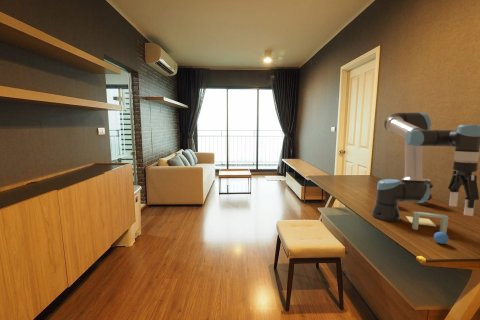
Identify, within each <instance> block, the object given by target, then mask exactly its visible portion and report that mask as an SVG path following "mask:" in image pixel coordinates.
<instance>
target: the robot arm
mask: <svg viewBox="0 0 480 320" xmlns="http://www.w3.org/2000/svg"><path fill="white" fill-rule="evenodd" d="M431 121H432V120H431V117H430V116H429V115H428V113H426V112H396V113H391V114H390V115H388V116H387V117H386V118H385V120H384V122H383V126H384V128H385V130H386V131H388V132H390V133H391V134H392V133H394V134H397V135H398V136H400V137H402V138H404V141H405V142H404V176H403V178H401V180H400V179H395V178H385V179H380V180H379V181H377V186H376V196H375V204H374V206H373V208H372V210H371V216H372V217H373V218H375V219H379V220H381V221H386V222H398V221H400V220H401V214H400V211H399V202H403V203H413V202H414V203H413V204H415V203H423V202H428V200H427V199H428V198H429V196H430V194H431V190H430V188H429V185H428V184H426V183H425V180H424V179H425V178H423V147H451V148H454V153H453V155H454V156H453V160H454V161H453V166H452V170H453V172H452V177H451V178H450V182H449V184H448V187H447V189H448V190H449V192H450V193H449V201H448V206H449V207H456V208H457V207H458V201H459V192H460V188H461V187H463V189H464V193H465V198H464V206H463V207H464V209H463V216H470V217H473V216H474V212H475V211H474V209H475V205H476V204H475V203H476V201H478V200H480V196H479V190H478V189H479V188H478V182H477V180H478V179H477V178H478V177H477V175H476V174H473V173H476V172H477V171H478V167H479V166H478V165H479V164H478V163H477V162H479V157H480V124H460V125H458V126H457V128H456V129H431V127H432V122H431Z"/></svg>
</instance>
